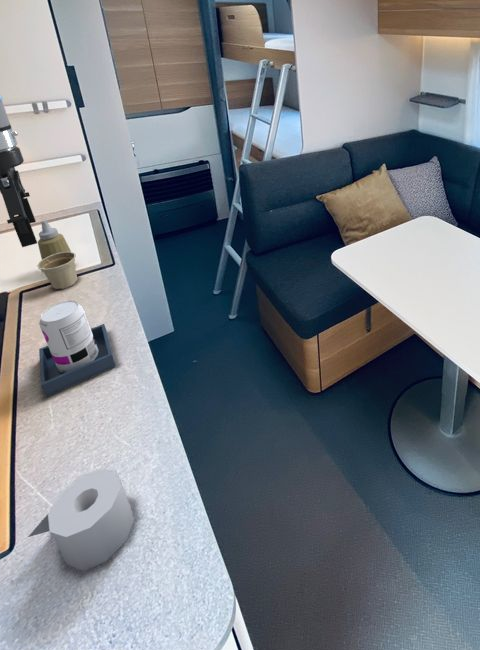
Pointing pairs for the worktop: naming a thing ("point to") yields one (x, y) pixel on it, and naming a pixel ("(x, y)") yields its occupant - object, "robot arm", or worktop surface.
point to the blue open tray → (59, 380)
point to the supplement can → (68, 335)
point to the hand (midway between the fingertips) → (29, 233)
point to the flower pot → (59, 269)
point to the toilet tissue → (89, 519)
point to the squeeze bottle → (51, 241)
